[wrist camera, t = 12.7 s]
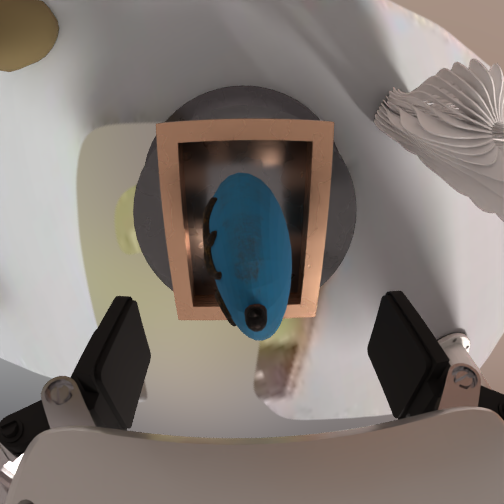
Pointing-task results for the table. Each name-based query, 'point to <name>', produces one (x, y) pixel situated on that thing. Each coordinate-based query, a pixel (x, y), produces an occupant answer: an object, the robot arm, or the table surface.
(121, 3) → the table surface
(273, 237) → the ornament
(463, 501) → the robot arm
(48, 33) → the squeeze bottle
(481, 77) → the shell sculpture
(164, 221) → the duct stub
